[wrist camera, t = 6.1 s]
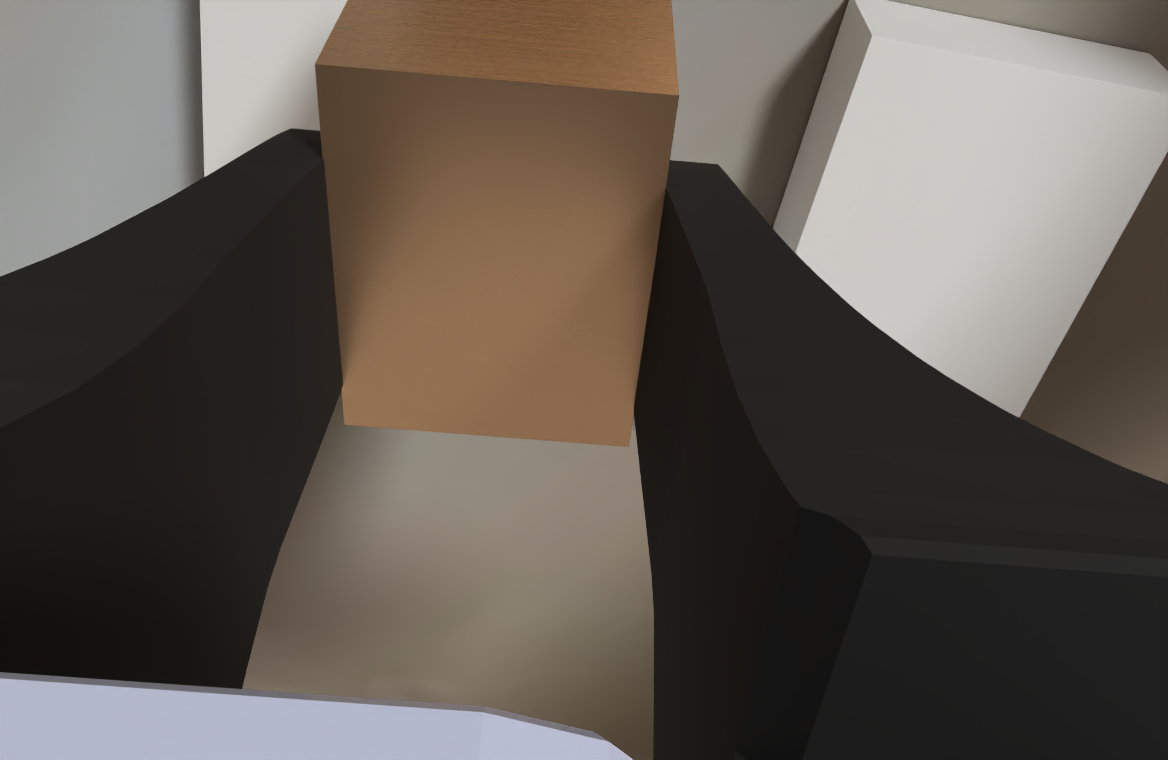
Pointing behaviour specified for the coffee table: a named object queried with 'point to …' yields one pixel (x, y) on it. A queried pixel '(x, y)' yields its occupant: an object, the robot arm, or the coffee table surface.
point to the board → (870, 167)
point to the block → (496, 209)
